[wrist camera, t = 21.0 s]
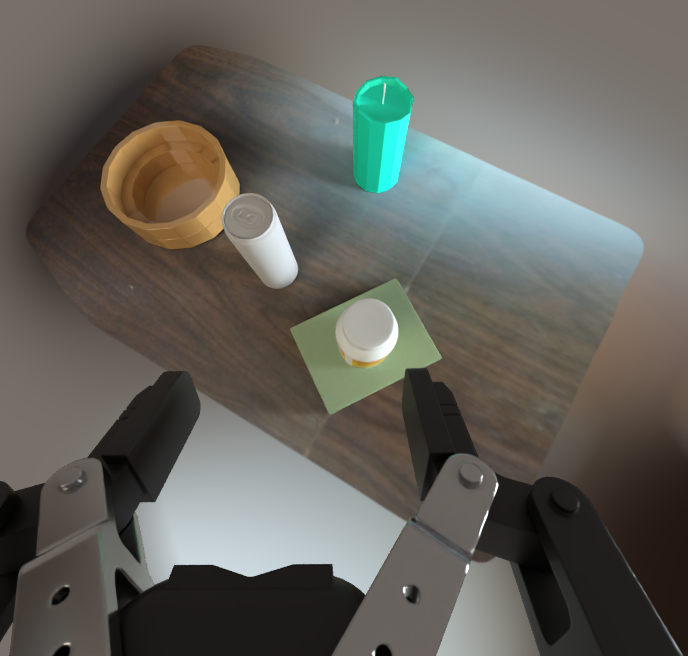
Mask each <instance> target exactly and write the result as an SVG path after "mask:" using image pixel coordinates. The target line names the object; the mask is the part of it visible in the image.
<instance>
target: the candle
mask: <svg viewBox="0 0 688 656" xmlns="http://www.w3.org/2000/svg"><path fill="white" fill-rule="evenodd" d="M412 103H413V96H412V94H411V93H410V91H409V89H408V88H407V87H406V86H405V85H404V84H403V83H402V82H401V81H400V80H399V79H398V78H397V77H385V76H380V77H377V78H374V79H370V80H367V81H366V82H365V83H364V84H363V85H362V86H361V87H360V88H359V89H358V90H357V92H356V95H355V98H354V101H353V175H354V177H355V180H356V183H357V185H359V186H360V187H361V188H363V189H364V190H365V191H368V192H374V193H380V192H383V191H387V190H389V189H390V188H391V187H392V186H393V185H394V184H395V183H396V182H397V179H398V174H399V169H400V164H401V159H402V154H403V149H404V144H405V139H406V134H407V129H408V124H409V119H410V114H411V108H412Z"/></svg>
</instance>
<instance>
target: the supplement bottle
mask: <svg viewBox="0 0 688 656" xmlns="http://www.w3.org/2000/svg"><path fill="white" fill-rule="evenodd" d="M335 334H336V340H337V344H338V348H339V352H340V354H341V356H342V357H343V359H344V360H345V361H346V362H347V363H348V364H350V365H351V366H353V367H356V368H360V369H367V368H372V367H375V366H377V365H378V364H380V363H381V362H382V361H383V360H384V359H385V358H386V357H387V355H388V354H389V353H390V352H391V351H392V349H393V348H394V346H395V344H396V341H397V338H398V325H397V322H396V319H395V317H394V315H393V313H392V312H391V310H390V308H389V307H388V306H387V305H386V304H384V303H383V302H381V301H379V300H377V299H373V298H364V299H360V300H358V301H356V302H354V303H353V304H351V305H350V306H348V307H347V308H346V309H345V310H344V311H343V312H342V313H341V314H340V316H339V318H338V320H337V323H336V330H335Z"/></svg>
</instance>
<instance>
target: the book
mask: <svg viewBox="0 0 688 656" xmlns="http://www.w3.org/2000/svg"><path fill="white" fill-rule="evenodd" d="M364 298H373V299H377V300H379V301H381V302H383V303H384V304H386V305H387V306H388V307H389V308H390V310H391V312H392V313H393V315H394V317H395V319H396V322H397V325H398V338H397V341H396V344H395V346H394V348H393V349H392V351H391V352H390V353H389V354H388V355H387V357H386V358H385V359H384V360H383V361H382V362H381V363H380V364H378V365H377V366H375V367H372V368H367V369H360V368H356V367H353V366H351V365H350V364H348V363H347V362H346V361H345V360H344V359H343V357H342V356H341V354H340V352H339V348H338V344H337V340H336V334H335V330H336V323H337V320H338V318H339V316H340V314H341V313H342V312H343V311H344V310H345V309H346V308H347V307H348V306H350V305H351V304H353V303H354V302H356V301H358V300H360V299H364ZM290 331H291V333H292V335H293V337H294V339H295V341H296V344H297V346H298V348H299V350H300V352H301V354H302V357H303V359H304V361H305V363H306V365H307V367H308V370H309V372H310V374H311V376H312V378H313V380H314V383H315V385H316V387H317V389H318V391H319V393H320V396H321V398H322V400H323V402H324V404H325V406H326V409H327V411H328V413H329V415H330V414H332V413H334V412H336V411H338V410H340V409H342V408H344V407H346V406H348V405H350V404H352V403H354V402H356V401H358V400H360V399H362V398H364V397H366V396H368V395H370V394H372V393H374V392H376V391H378V390H380V389H382V388H384V387H386V386H388V385H390V384H392V383H394V382H396V381H398V380H400V379H402V378H404V376H405V370H406V368H423V367H425V366H427V365H429V364H431V363H433V362H435V361H437V360H439V359H441V358H442V357H441V356H440V354H439V352H438V350H437V349H436V347H435V345H434V343H433V341H432V340H431V338H430V336H429V334H428V333H427V331H426V329H425V327H424V326H423V324H422V322H421V320H420V319H419V317H418V315H417V313H416V312H415V310H414V308H413V306H412V305H411V303H410V301H409V299H408V297H407V296H406V294H405V292H404V290H403V289H402V287H401V285H400V283H399V282H398V280H397V278H395V279H393V280H391V281H388V282H386V283H384V284H382V285H380V286H378V287H376V288H374V289H372V290H370V291H367V292H365V293H363V294H361V295H359V296H357V297H355V298H353V299H351V300H349V301H347V302H344V303H342V304H340V305H338V306H336V307H334V308H332V309H330V310H328V311H326V312H323V313H321V314H319V315H317V316H315V317H313V318H311V319H309V320H307V321H305V322H303V323H300V324H298V325H296V326H294V327H292V328H290Z"/></svg>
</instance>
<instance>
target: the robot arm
mask: <svg viewBox="0 0 688 656" xmlns="http://www.w3.org/2000/svg"><path fill="white" fill-rule="evenodd" d="M402 411H403V417H404V422H405V427H406V432H407V437H408V442H409V447H410V452H411V457H412V462H413V467H414V472H415V477H416V482H417V487H418V492H419V497H420V501H423V503H422V505H421V507H420V509H419V510H418V512H417V514H416V516H415V517H414V518H411V519H410V520H409V521H408V522H407V523H406V525H405V527H404V528H403V530H402V532H401V534H400V535H399V537H398V539H397V541H396V542H395V544H394V546H393V548H392V549H391V551H390V553H389V555H388V557H387V558H386V560H385V562H384V564H383V565H382V567H381V569H380V571H379V573H378V574H377V576H376V578H375V580H374V581H373V583H372V585H371V587H370V588H369V590H368V592H367V594H366V595H365V594H364V593H363V592H362V591H361V590H359V589H358V588H357V587H355V586H354V585H352V584H351V583H349V582H347V581H345V580H343V579H341V578H338V577H335V576H333V566H332V564H295V565H294V564H293V565H290V566H287V567H283V568H280V569H277V570H274V571H270V572H267V573H264V574H260V575H257V576H254V577H247V576H244V575H241V574H238V573H235V572H232V571H229V570H226V569H223V568H220V567H218V566H214V565H174V567H173V570H172V572H171V574H170V577H169V579H167V580H165V581H163V582H160V583H158V584H156V585H154V583H153V581H152V579H151V576H150V574H149V571H148V568H147V564H146V558H145V553H144V547H143V542H142V537H141V532H140V526H139V521H138V516H137V514H136V512H135V510H136V509H137V507H138V505H139V503H140V502H155V501H156V499H157V497H158V495H159V493H160V492H161V490H162V488H163V486H164V483H165V482H166V480H167V478H168V476H169V474H170V472H171V470H172V468H173V466H174V464H175V462H176V460H177V458H178V456H179V454H180V453H181V450H182V449H183V447H184V444H185V443H186V441H187V439H188V437H189V435H190V433H191V431H192V429H193V427H194V425H195V423H196V421H197V419H198V417H199V414H200V400H199V397H198V395H197V392H196V389H195V386H194V384H193V381H192V378H191V376H190V374H189V373H188V372H187V371H168V372H164V373H163V374H162V375H161V376H160V377H159V379H158V380H157V381H156V383H155V384H154V385H153V386H149V387H147V388H146V389H145V390H143V391H142V392H140V393H139V394H138V395H136V397H135V398H134V399H133V400H132V402H131V403H130V404H129V406H128V407H127V410H124V412H123V413H122V414H121V415H120V417H119V420H116V422H115V423H114V424H113V426H112V427H111V428H110V429H109V431H108V432H107V433H106V434H105V436H104V437H103V438H102V440H101V441H100V442H99V443H98V445H97V446H96V447H95V448H94V450H93V451H92V452H91V453H90V455H89V456H88V457H87V458H84V459H80V460H76V461H74V462H72V463H69V464H68V465H66V466H64V467H62V468H61V469H59V470H58V471H57V472H56V473H54V474H53V475H52V476H51V477H50V478H49V479H48V480H47V482H46V483H43V484H39V485H35V486H32V487H29V488H25V489H21V490H18V491H14V490H13V489H12V488H11V487H10V486H9V485H8V484H6V483H5V482H2V481H0V642H1V640H2V638H3V637H4V635H5V634H6V632H7V630H8V629H9V627H10V626H11V624H12V623H13V627H12V637H11V646H10V655H9V656H436V654H437V652H438V649H439V646H440V643H441V641H442V638H443V635H444V633H445V630H446V627H447V624H448V622H449V619H450V616H451V614H452V611H453V608H454V606H455V603H456V600H457V598H458V595H459V592H460V589H461V586H462V584H463V581H464V578H465V576H466V573H467V570H468V568H469V565H470V562H471V559H472V556H473V553H474V550H475V549H477V550H480V551H482V552H485V553H488V554H491V555H494V556H497V557H499V558H502V559H505V560H508V561H510V564H511V567H512V570H513V573H514V576H515V579H516V582H517V585H518V589H519V592H520V595H521V598H522V601H523V604H524V607H525V610H526V613H527V616H528V619H529V622H530V625H531V628H532V631H533V634H534V637H535V640H536V644H537V647H538V650H539V652H540V656H683V655H682V653H681V651H680V650H679V648H678V647H677V645H676V643H675V641H674V640H673V638H672V636H671V635H670V633H669V631H668V630H667V628H666V626H665V625H664V623H663V622H662V620H661V618H660V616H659V615H658V613H657V611H656V610H655V608H654V606H653V605H652V603H651V601H650V600H649V598H648V596H647V595H646V593H645V591H644V590H643V588H642V586H641V585H640V583H639V581H638V580H637V578H636V576H635V575H634V573H633V571H632V569H631V568H630V567H629V564H628V563H627V561H626V560H625V558H624V556H623V554H622V553H621V551H620V549H619V548H618V546H617V545H616V543H615V541H614V539H613V538H612V536H611V534H610V533H609V531H608V529H607V528H606V526H605V524H604V523H603V521H602V519H601V518H600V516H599V514H598V513H597V511H596V509H595V508H594V506H593V504H592V503H591V502H590V500H589V499H588V497H587V496H586V495H585V494H584V493H583V492H582V491H581V490H579V489H578V488H577V487H575V486H574V485H572V484H570V483H569V482H566V481H564V480H562V479H559V478H555V477H543V478H540V479H538V480H537V481H536V482H535V483H534V484H533V485H529V484H526V483H522V482H519V481H515V480H512V479H508V478H505V477H503V476H500V475H498V474H497V473H495V472H494V471H493V470H492V469H491V467H490V466H489V465H488V464H487V463H486V462H484V461H483V460H482V459H480V458H479V456H478V454H477V452H476V450H475V447H474V445H473V442H472V440H471V437H470V435H469V433H468V430H467V428H466V425H465V423H464V420H463V418H462V416H461V413H460V410H459V408H458V406H457V403H456V401H455V398H454V396H453V393H452V392H451V391H450V390H449V388H448V387H447V386H446V385H445V384H444V383H443V382H432V381H431V378H430V375H429V372H428V370H427V368H406V370H405V376H404V386H403V396H402Z"/></svg>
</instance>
